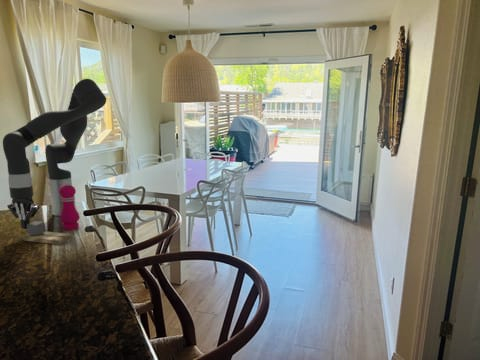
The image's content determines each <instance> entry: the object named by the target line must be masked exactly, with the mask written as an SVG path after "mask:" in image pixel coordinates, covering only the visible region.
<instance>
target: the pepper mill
mask: <svg viewBox="0 0 480 360" xmlns="http://www.w3.org/2000/svg"><path fill="white" fill-rule="evenodd" d="M76 191H77V190H76V188H75V187H74V186H73V185H72V186H71V185H69V182H65V186H62V187H61V188H60V191H59V193H60V195H61V196H62V198H61V199H62V201H63V210H62V213H61V216H59V217H60V219H59V220H60V222H61V223H62V224H61V228H62V230H64V231H73V230H77V229H79V226H80V225H79V224H80V223H79V222H78V221H79V220H80V214H79V212H78V210H77V209H76V208H75V207H76V205H75V206H74V200H75V201H76V198H75V197H76V195H75V194H76ZM74 195H75V196H74Z"/></svg>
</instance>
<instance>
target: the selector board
mask: <svg viewBox="0 0 480 360" xmlns="http://www.w3.org/2000/svg"><path fill="white" fill-rule="evenodd" d="M71 239H73V233H64V232H54V231H46V230H45V232H43V233H41V234H39V235H28V234H26V235H24V236H22V240H23V241H24V242H25V241H27V242H33V243H34V242H36V243H43V244H53V245H62V244H64V243H65V242H67V241H69V240H71Z"/></svg>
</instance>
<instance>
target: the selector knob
mask: <svg viewBox="0 0 480 360" xmlns="http://www.w3.org/2000/svg"><path fill="white" fill-rule="evenodd" d="M45 224H46V223H45V221H40V220H35V221H32V222H30V223H29V224H27V229H26V231H27V235H39V234H41V233H43V232H45V231H46V227H45Z"/></svg>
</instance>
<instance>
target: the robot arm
mask: <svg viewBox="0 0 480 360" xmlns="http://www.w3.org/2000/svg"><path fill="white" fill-rule="evenodd" d="M73 87H74V88H73V90H72V92H71V93H72V94H71V97H70V101H69V104H68V108H67V109H66V110H50V111H47V112H46V111H45V112H44V113H42V114H39V115H37V116H35V117H34V118H33V119H31V120H30V121H28V122H26V124H25V125H23V126H21V127H19V128H18V129H16V130H14V131H12V132H8V133H7V134H5V135H4V137H3V139H2V149H3V153H4V156H5V159H6V163H7V174H8V188H9V189H8V190H9V196H10V199H11V203H9V204H7V208H8V210H9V211H10V212H11V214H12V215H13V216H14V218H16V219H19V221H20V226H21V227H20V228H21V229H22V230H27V224H29V223H31V222H30V219H32V218H35V215H36V214H37V212H38V211H39V209H40V205H36V204H35V203H34V199H33V197H34V187H33V176H32V173H31V168H30V167H31V166H30V161H29V158H28V157H27V151H26V148H27V147H29V146H31V145H32V144H34V143H35V142H36V141H38V140H39V139H42V138H43V137H46V136H47V135H48V134H50V133H52V132H54V131H55V130H57V129H59V131H60V133H61V135H62V136H61V137H63V139H64V140H65V142H62V143H60V142H59V143H49V144H47V145H46V146H45V151H44V152H45V160H46V166H47V173H48V178H49V179H48V180H49V188H50V189H49V191H50V201H51V209H52V211H51V212H52V215H53V216H56V217H60V216H61V213H62V210H63V201H62V199H61V198H62V196H61V195H60V193H59V191H60V188H61V187H62V186H65V182H69V185H71V186H73V182H72V173H71V171H70V170H67V169H62V168H59V165H60V164H67V163H70V162H72V160H73V158H74V156H75V153H76V150H77V146H78V144H79V142H80V140H81V138H82V137H83V135H84V134H85V131H86V129H87V126H88V116H89V115H90V114H92V113H95V112H96V111H99V110H100V109H102V107H104V106H105V105H106V104H107V96H106V95H105V94H104V93H103V91H102V90H101V89H100V87H99V85H98V84H97V83H96V82H95V81H94V80H93V79H91V78H87V77H86V78H83V79H81V80H79V81H78V82H77V83H76V84H75V86H73ZM58 164H59V165H58ZM74 196H75V197H76V195H74ZM74 206H75V208H76V199H75V200H74Z"/></svg>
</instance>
